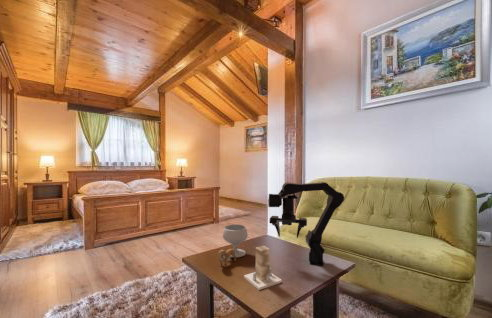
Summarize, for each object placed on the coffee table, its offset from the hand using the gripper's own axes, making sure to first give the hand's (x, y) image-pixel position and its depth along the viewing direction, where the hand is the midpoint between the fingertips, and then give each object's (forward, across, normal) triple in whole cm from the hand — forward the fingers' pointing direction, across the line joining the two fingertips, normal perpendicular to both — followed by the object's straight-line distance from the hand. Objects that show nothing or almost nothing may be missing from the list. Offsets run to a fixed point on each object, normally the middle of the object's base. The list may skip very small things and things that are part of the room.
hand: (288, 237), depth 121 cm
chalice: (+13, -30, +3) cm, 33 cm away
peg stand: (+13, -9, -21) cm, 26 cm away
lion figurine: (+13, -30, -11) cm, 34 cm away
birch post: (+12, -9, -21) cm, 26 cm away
